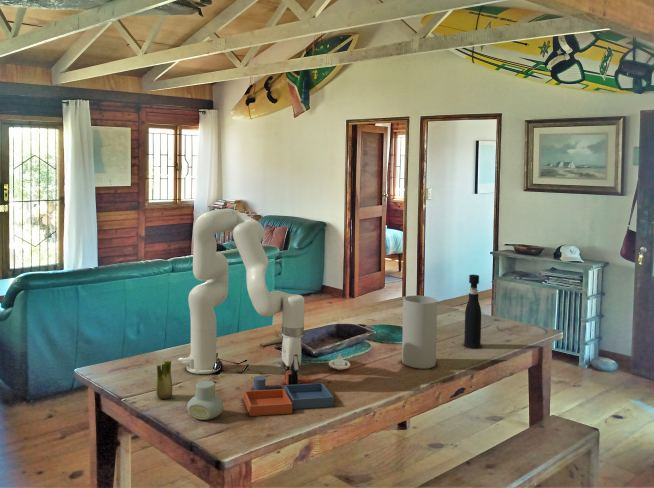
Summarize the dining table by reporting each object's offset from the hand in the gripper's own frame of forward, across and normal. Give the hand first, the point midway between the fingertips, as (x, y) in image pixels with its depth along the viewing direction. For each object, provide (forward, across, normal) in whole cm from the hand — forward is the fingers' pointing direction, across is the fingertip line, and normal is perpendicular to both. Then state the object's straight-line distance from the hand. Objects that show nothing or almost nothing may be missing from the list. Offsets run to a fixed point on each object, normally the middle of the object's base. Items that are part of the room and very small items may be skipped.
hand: (291, 382), depth 208 cm
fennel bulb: (+2, +4, -44) cm, 44 cm away
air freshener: (+1, +20, -32) cm, 38 cm away
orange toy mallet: (0, 0, +3) cm, 3 cm away
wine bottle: (0, -31, +85) cm, 91 cm away
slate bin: (+1, +13, +2) cm, 14 cm away
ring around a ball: (+1, -13, +21) cm, 25 cm away
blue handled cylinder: (+1, +2, -9) cm, 9 cm away
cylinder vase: (0, -14, +53) cm, 55 cm away
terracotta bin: (+1, +16, -12) cm, 20 cm away
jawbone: (+2, -51, +2) cm, 51 cm away
